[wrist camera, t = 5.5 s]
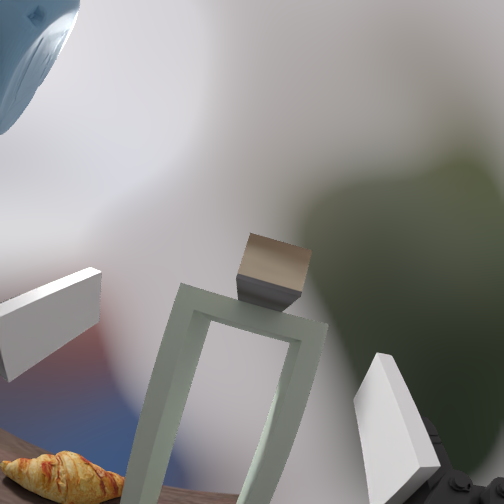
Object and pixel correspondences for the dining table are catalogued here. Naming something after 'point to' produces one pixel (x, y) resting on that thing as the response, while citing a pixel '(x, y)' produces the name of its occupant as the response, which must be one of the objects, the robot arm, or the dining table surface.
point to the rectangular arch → (180, 379)
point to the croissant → (65, 478)
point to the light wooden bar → (271, 273)
